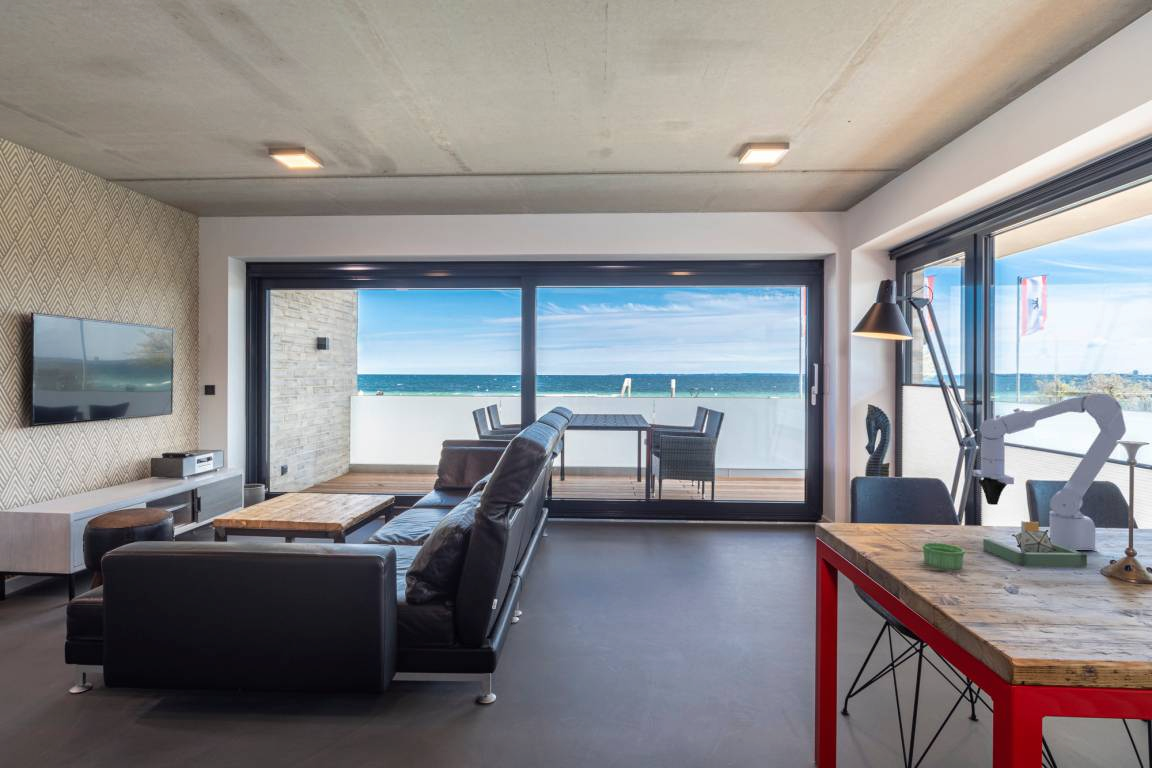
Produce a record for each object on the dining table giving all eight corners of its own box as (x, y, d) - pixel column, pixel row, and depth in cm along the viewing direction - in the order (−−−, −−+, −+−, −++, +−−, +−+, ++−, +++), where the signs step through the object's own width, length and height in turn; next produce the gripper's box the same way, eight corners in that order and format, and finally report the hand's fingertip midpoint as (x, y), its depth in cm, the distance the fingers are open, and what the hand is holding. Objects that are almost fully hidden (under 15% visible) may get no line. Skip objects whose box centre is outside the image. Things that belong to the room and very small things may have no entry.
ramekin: (971, 571, 140) (971, 553, 140) (930, 569, 141) (930, 551, 141) (954, 560, 148) (955, 543, 148) (916, 558, 150) (916, 541, 150)
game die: (1043, 572, 150) (1073, 548, 145) (1015, 562, 149) (1045, 536, 144) (1023, 547, 158) (1051, 523, 153) (997, 537, 157) (1024, 512, 152)
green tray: (1042, 550, 157) (1042, 510, 157) (1086, 566, 143) (1087, 522, 143) (983, 549, 158) (983, 509, 158) (1022, 566, 144) (1022, 522, 144)
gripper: (963, 455, 180) (963, 499, 180) (996, 462, 165) (996, 509, 165) (986, 455, 179) (985, 499, 180) (1021, 462, 165) (1021, 509, 165)
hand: (992, 504), depth 172 cm, fingers closed
